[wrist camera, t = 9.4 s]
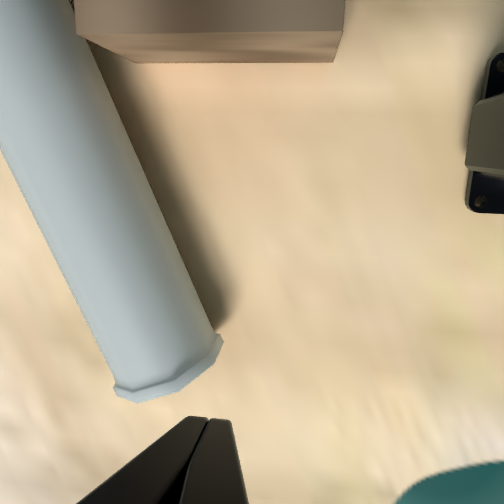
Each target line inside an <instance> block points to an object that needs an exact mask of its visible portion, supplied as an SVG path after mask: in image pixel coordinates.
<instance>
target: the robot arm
mask: <svg viewBox="0 0 504 504" xmlns="http://www.w3.org/2000/svg"><path fill="white" fill-rule="evenodd" d="M499 61H503V62H504V53H500V54H498V55H496V56H494V57H492V58H491V59H490V60H489V61H488V63H487V66H486V70H485V76H484V83H483V89H482V96H481V100H480V101H479V102H478V103H477V104H476V105H474V107H473V113H472V119H471V126H470V132H469V139H468V145H467V152H466V159H465V166H466V167H467V168H468V169H469V170H470V172H469V179H468V185H467V191H466V198H465V205H466V206H467V208H468V209H469V210H471V211H473V212H477V213H492V214H504V71H503V72H499V71H498V70H497V66H496V65H497V63H498V62H499ZM478 196H482V198H483V202H482V204H481V205H479V206H476V205H475V203H474V201H475V199H476V198H477V197H478ZM76 504H249V502H248V497H247V493H246V488H245V484H244V479H243V474H242V470H241V465H240V460H239V456H238V451H237V446H236V442H235V437H234V432H233V428H232V423H231V421H230V420H225V419H216V418H212V419H210V420H208V419H207V418H206V417H197V416H188V417H186V418H184V419H183V420H182V421H181V422H179V423H178V424H177V425H175V426H174V427H173V428H172V429H170V430H169V431H168V432H167V433H165V434H164V435H163V436H162V437H160V438H159V439H158V440H156V441H155V442H154V443H153V444H151V445H150V446H149V447H148V448H146V449H145V450H144V451H142V452H141V453H140V454H139V455H137V456H136V457H135V458H134V459H132V460H131V461H130V462H128V463H127V464H126V465H125V466H123V467H122V468H121V469H120V470H118V471H117V472H116V473H115V474H113V475H112V476H111V477H109V478H108V479H107V480H106V481H104V482H103V483H102V484H101V485H99V486H98V487H97V488H95V489H94V490H93V491H92V492H90V493H89V494H88V495H87V496H85V497H84V498H83V499H82V500H80V501H79V502H78V503H76Z"/></svg>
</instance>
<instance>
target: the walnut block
mask: <svg viewBox="0 0 504 504" xmlns="http://www.w3.org/2000/svg"><path fill="white" fill-rule="evenodd" d="M74 9H75V21H76V33H77V35H79V36H81V37H83V38H85V39H87V40H89V41H92V42H94V43H96V44H98V45H100V46H102V47H104V48H106V49H108V50H110V51H112V52H114V53H116V54H118V55H120V56H122V57H124V58H126V59H128V60H130V61H132V62H134V63H317V62H333V61H334V58H335V55H336V51H337V48H338V45H339V42H340V39H341V36H342V33H343V25H344V11H345V0H74Z"/></svg>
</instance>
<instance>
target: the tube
mask: <svg viewBox="0 0 504 504" xmlns="http://www.w3.org/2000/svg"><path fill="white" fill-rule="evenodd" d="M0 150H1V152H2V154H3V156H4V158H5V160H6V162H7V164H8V166H9V168H10V170H11V172H12V174H13V176H14V178H15V180H16V182H17V184H18V186H19V188H20V190H21V192H22V194H23V196H24V198H25V200H26V202H27V204H28V206H29V208H30V210H31V212H32V214H33V216H34V218H35V220H36V222H37V224H38V226H39V228H40V230H41V232H42V234H43V236H44V238H45V240H46V242H47V244H48V246H49V248H50V250H51V252H52V254H53V256H54V258H55V260H56V262H57V264H58V266H59V268H60V270H61V272H62V274H63V276H64V278H65V280H66V282H67V284H68V286H69V288H70V290H71V292H72V294H73V296H74V298H75V300H76V302H77V304H78V306H79V308H80V310H81V312H82V314H83V316H84V318H85V320H86V322H87V324H88V326H89V328H90V330H91V332H92V334H93V336H94V338H95V340H96V342H97V344H98V346H99V348H100V350H101V352H102V354H103V356H104V358H105V360H106V362H107V364H108V366H109V368H110V370H111V372H112V374H113V376H114V379H115V382H116V383H115V385H114V387H113V389H114V391H115V393H116V395H117V396H119V397H121V398H124V399H127V400H129V401H132V402H135V403H141V402H145V401H148V400H152V399H155V398H159V397H162V396H166V395H169V394H173V393H176V392H179V391H181V390H182V389H183V388H184V387H186V386H187V385H188V384H190V383H191V382H192V381H193V380H195V379H196V378H197V377H198V376H200V375H201V374H202V373H203V372H205V371H206V370H207V369H208V368H210V367H211V366H212V365H214V363H215V361H216V358H217V356H218V354H219V352H220V349H221V347H222V345H223V342H224V341H223V339H222V337H221V335H220V334H217V333H215V332H214V330H213V328H212V327H211V324H210V322H209V320H208V317H207V315H206V313H205V311H204V308H203V306H202V304H201V301H200V299H199V297H198V295H197V292H196V290H195V288H194V285H193V283H192V281H191V279H190V276H189V274H188V272H187V269H186V267H185V265H184V263H183V260H182V258H181V256H180V253H179V251H178V249H177V247H176V244H175V242H174V240H173V237H172V235H171V233H170V231H169V228H168V226H167V224H166V221H165V219H164V217H163V215H162V212H161V210H160V208H159V205H158V203H157V201H156V199H155V196H154V194H153V192H152V189H151V187H150V185H149V183H148V180H147V178H146V176H145V173H144V171H143V169H142V167H141V164H140V162H139V160H138V157H137V155H136V153H135V151H134V148H133V146H132V144H131V141H130V139H129V137H128V135H127V132H126V130H125V128H124V125H123V123H122V121H121V119H120V116H119V114H118V112H117V109H116V107H115V105H114V103H113V100H112V98H111V96H110V93H109V91H108V89H107V87H106V84H105V82H104V80H103V77H102V75H101V73H100V71H99V68H98V66H97V64H96V61H95V59H94V57H93V55H92V52H91V50H90V48H89V45H88V43H87V41H86V39H85V38H83V37H81V36H79V35H77V33H76V21H75V13H74V11H73V9H72V7H71V4H70V2H69V0H0Z"/></svg>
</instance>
